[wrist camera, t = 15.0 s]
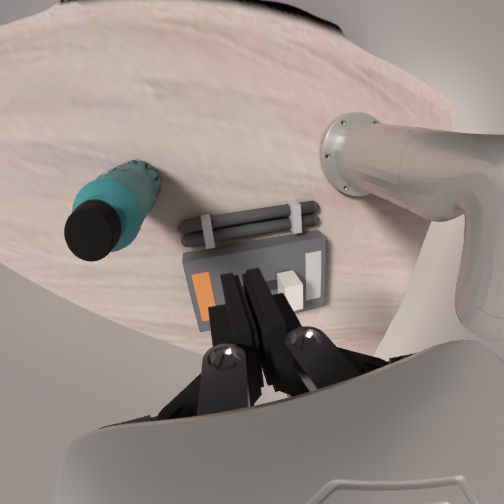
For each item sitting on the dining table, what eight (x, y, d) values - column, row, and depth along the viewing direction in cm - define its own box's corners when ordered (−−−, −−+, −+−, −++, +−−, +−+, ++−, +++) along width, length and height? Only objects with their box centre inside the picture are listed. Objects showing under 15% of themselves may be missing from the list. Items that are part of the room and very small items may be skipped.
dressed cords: (315, 197, 40) (322, 201, 38) (316, 223, 42) (322, 229, 40) (177, 219, 38) (176, 224, 35) (182, 246, 39) (182, 253, 37)
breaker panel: (317, 229, 42) (326, 237, 40) (317, 296, 48) (324, 306, 45) (182, 253, 40) (182, 262, 37) (199, 320, 45) (200, 332, 42)
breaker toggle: (293, 270, 40) (302, 284, 37) (293, 293, 42) (303, 308, 39) (276, 273, 40) (285, 288, 36) (278, 297, 42) (286, 312, 38)
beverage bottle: (172, 189, 36) (153, 250, 18) (131, 215, 36) (84, 295, 18) (146, 147, 33) (98, 167, 15) (106, 176, 33) (32, 224, 15)
